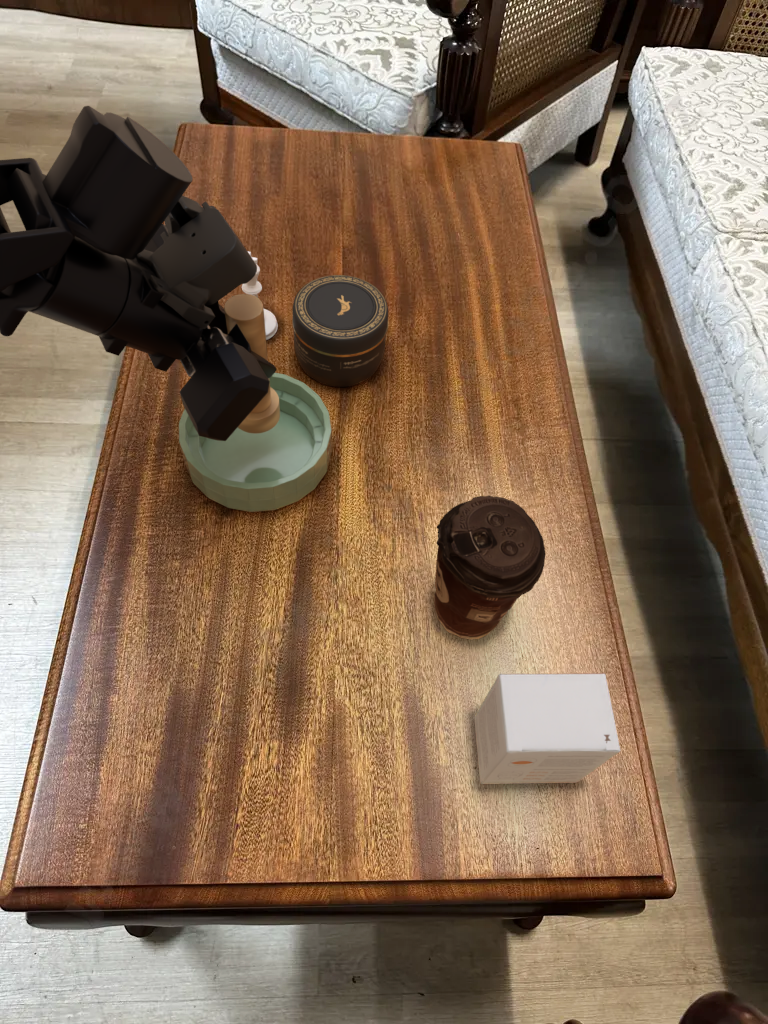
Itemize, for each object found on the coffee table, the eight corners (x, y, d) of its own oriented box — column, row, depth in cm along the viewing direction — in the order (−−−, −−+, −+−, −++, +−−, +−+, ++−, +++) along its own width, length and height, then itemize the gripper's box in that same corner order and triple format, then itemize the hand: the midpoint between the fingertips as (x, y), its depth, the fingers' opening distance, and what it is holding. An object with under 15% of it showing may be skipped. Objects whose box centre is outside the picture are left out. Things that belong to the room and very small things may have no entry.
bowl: (156, 475, 70) (147, 447, 66) (238, 381, 77) (234, 351, 73) (282, 538, 67) (280, 512, 63) (355, 434, 74) (357, 406, 70)
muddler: (241, 439, 65) (225, 332, 54) (225, 405, 67) (207, 295, 56) (287, 425, 66) (280, 318, 55) (270, 391, 68) (260, 282, 57)
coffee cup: (405, 629, 63) (423, 558, 52) (434, 552, 67) (456, 472, 57) (500, 664, 62) (538, 599, 51) (523, 584, 66) (563, 508, 55)
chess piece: (239, 308, 83) (230, 234, 74) (281, 315, 83) (277, 241, 74) (228, 338, 80) (218, 264, 72) (272, 345, 80) (266, 272, 72)
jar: (363, 318, 83) (367, 264, 77) (398, 379, 79) (405, 326, 72) (281, 338, 81) (278, 283, 74) (312, 402, 76) (312, 350, 70)
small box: (566, 714, 60) (609, 671, 51) (577, 785, 57) (624, 751, 48) (471, 714, 60) (498, 670, 51) (478, 785, 57) (507, 752, 48)
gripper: (227, 289, 42) (380, 365, 54) (123, 121, 50) (278, 221, 63) (123, 421, 46) (288, 463, 59) (44, 246, 54) (204, 316, 67)
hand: (265, 359), depth 61 cm, fingers closed on muddler, 3 cm apart
